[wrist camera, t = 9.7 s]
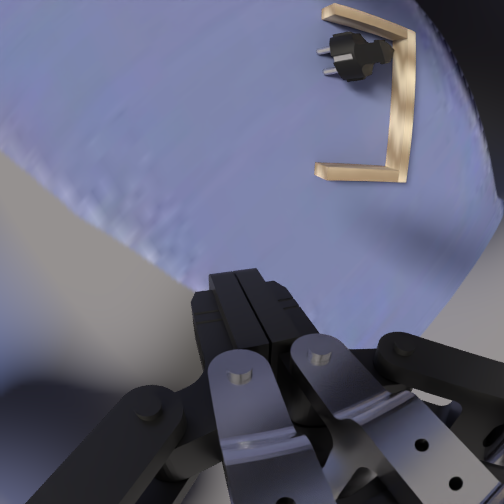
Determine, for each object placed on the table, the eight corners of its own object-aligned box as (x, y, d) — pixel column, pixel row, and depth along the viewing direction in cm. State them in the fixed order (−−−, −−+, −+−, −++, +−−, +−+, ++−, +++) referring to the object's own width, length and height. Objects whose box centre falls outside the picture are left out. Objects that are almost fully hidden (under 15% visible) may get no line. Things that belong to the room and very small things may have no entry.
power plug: (403, 69, 33) (383, 79, 25) (351, 75, 38) (316, 88, 30) (392, 30, 30) (368, 25, 22) (340, 38, 35) (301, 40, 27)
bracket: (321, 9, 28) (334, 3, 25) (400, 34, 31) (415, 32, 28) (314, 174, 36) (326, 180, 34) (391, 177, 40) (405, 182, 37)
